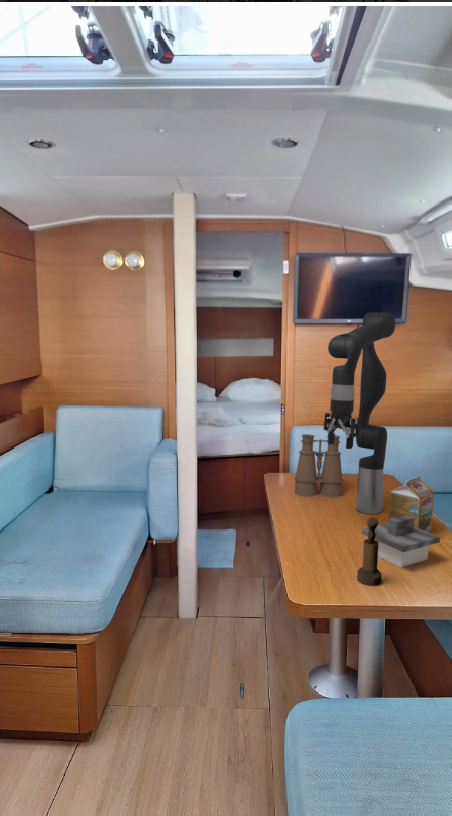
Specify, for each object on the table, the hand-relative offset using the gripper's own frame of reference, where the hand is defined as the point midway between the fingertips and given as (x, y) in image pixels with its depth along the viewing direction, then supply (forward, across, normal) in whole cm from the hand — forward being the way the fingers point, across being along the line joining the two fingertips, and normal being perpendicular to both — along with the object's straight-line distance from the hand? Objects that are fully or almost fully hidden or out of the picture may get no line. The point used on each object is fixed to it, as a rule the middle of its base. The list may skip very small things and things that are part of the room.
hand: (339, 446), depth 176 cm
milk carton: (+30, -11, -24) cm, 40 cm away
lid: (+24, -24, -4) cm, 34 cm away
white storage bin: (+30, -24, -4) cm, 39 cm away
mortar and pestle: (+30, -31, +16) cm, 46 cm away
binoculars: (+30, +38, -25) cm, 55 cm away
